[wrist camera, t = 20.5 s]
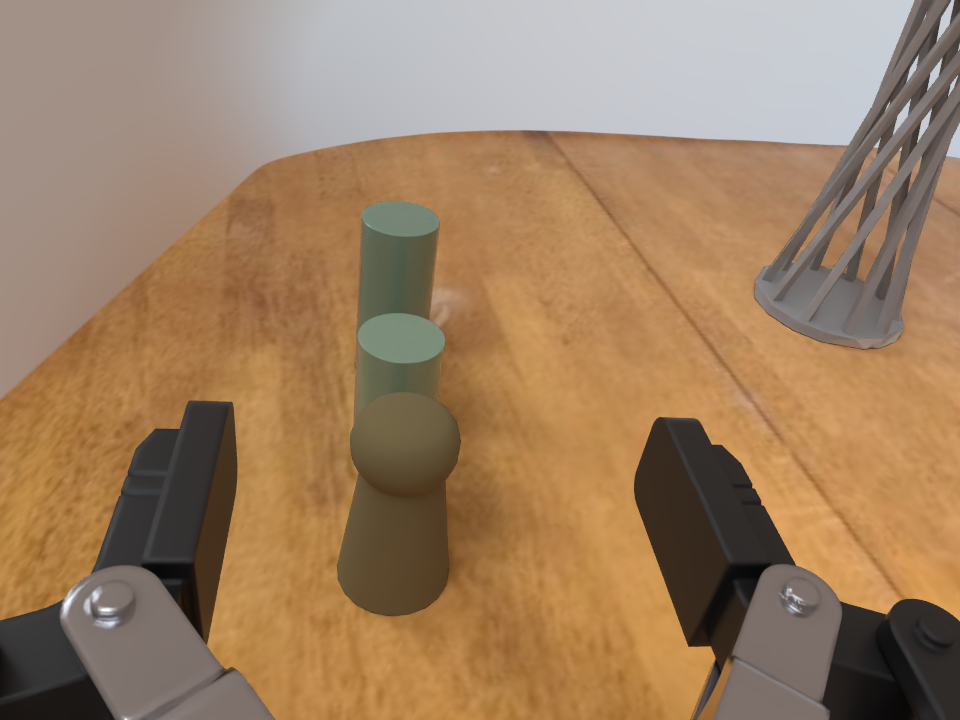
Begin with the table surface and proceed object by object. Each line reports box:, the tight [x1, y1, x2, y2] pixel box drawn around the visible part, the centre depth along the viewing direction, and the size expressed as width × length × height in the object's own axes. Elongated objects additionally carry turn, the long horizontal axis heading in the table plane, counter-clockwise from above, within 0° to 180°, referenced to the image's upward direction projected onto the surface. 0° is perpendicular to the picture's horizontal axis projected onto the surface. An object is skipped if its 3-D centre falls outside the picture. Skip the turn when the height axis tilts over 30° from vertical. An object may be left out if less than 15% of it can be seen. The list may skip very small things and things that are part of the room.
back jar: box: [355, 201, 440, 369], centre depth 53 cm, size 5×5×12 cm
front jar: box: [353, 313, 445, 426], centre depth 47 cm, size 5×5×9 cm
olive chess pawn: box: [337, 392, 461, 616], centre depth 39 cm, size 6×6×11 cm
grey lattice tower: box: [754, 0, 960, 349], centre depth 63 cm, size 14×13×35 cm
